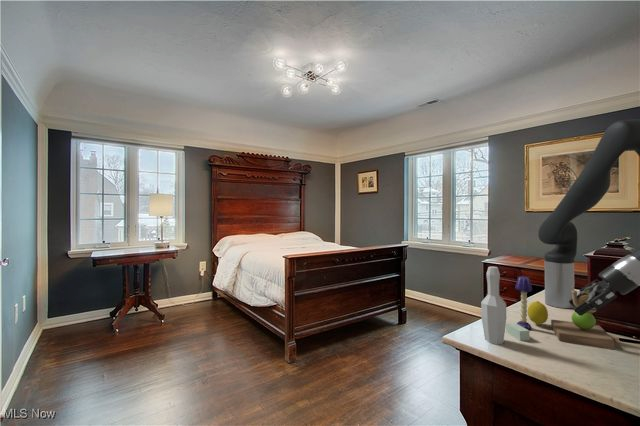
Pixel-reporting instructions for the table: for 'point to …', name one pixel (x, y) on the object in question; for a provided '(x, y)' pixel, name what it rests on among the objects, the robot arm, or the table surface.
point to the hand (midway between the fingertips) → (573, 308)
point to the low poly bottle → (493, 309)
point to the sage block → (517, 331)
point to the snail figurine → (586, 319)
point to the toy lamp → (524, 299)
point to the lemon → (537, 313)
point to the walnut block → (581, 334)
